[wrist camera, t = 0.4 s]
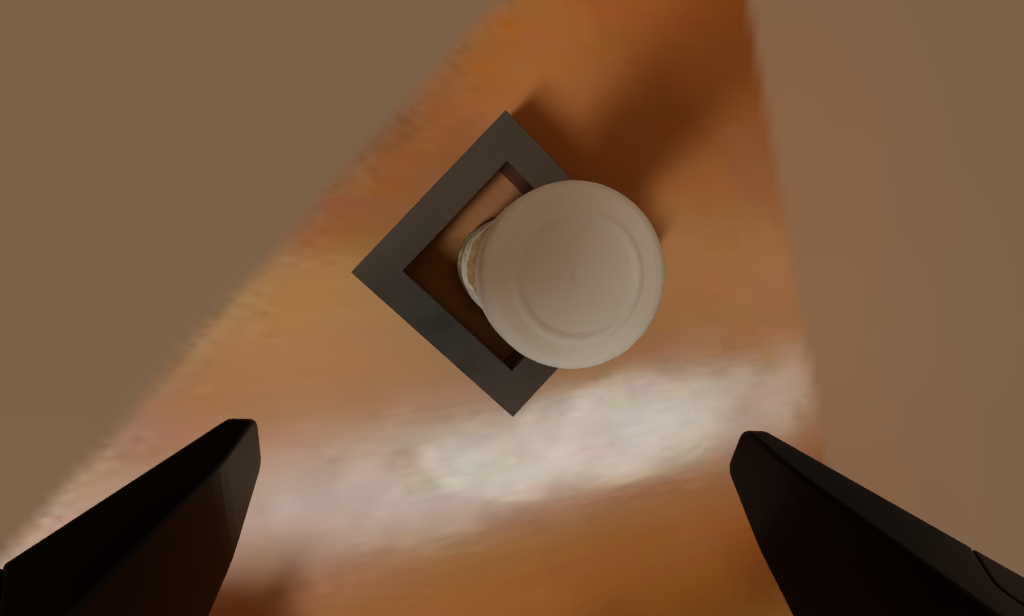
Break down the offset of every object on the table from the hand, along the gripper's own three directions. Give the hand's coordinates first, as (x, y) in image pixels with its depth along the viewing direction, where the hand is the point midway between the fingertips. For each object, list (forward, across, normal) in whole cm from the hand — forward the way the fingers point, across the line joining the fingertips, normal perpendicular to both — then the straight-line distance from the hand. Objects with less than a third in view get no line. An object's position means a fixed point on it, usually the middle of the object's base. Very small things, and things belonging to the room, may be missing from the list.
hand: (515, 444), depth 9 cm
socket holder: (+16, -2, +3) cm, 16 cm away
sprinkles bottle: (+16, -2, +3) cm, 16 cm away
